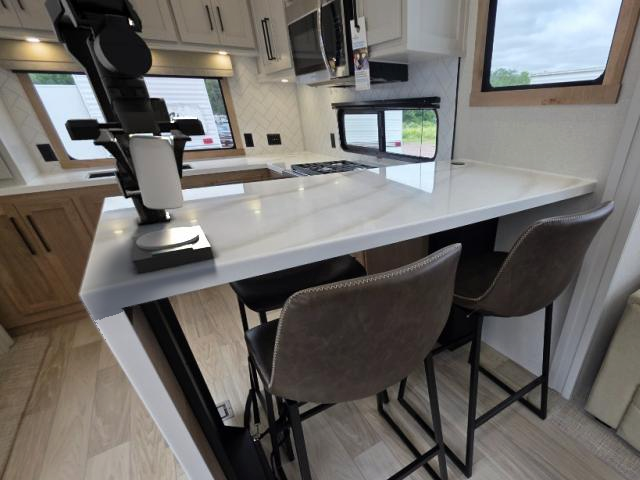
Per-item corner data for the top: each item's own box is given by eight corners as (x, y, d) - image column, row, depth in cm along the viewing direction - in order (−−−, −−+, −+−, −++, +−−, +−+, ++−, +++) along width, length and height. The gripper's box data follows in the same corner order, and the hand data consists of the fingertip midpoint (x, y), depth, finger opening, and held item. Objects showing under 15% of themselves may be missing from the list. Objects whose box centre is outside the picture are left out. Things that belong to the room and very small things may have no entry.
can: (192, 207, 64) (179, 139, 59) (156, 211, 59) (138, 138, 54) (172, 201, 67) (158, 135, 62) (136, 205, 62) (118, 134, 56)
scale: (136, 248, 67) (130, 233, 65) (202, 236, 73) (198, 222, 71) (138, 273, 57) (131, 256, 56) (214, 257, 63) (209, 242, 62)
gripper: (34, 73, 43) (92, 196, 51) (196, 79, 52) (222, 181, 60) (47, 77, 50) (95, 183, 58) (186, 82, 60) (211, 172, 68)
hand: (159, 180), depth 61 cm, fingers closed on can, 7 cm apart
